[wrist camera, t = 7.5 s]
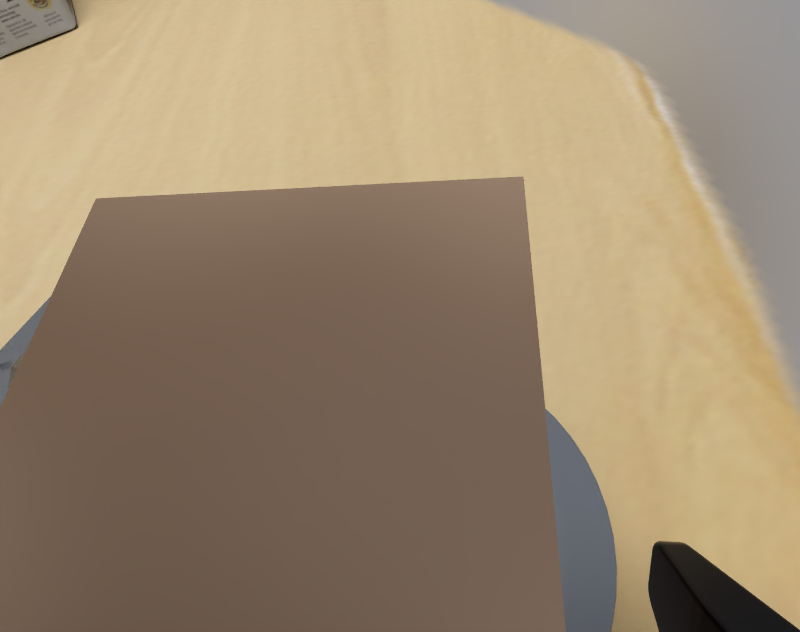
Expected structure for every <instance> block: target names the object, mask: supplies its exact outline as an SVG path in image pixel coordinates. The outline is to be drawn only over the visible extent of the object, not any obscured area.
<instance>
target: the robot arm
mask: <svg viewBox="0 0 800 632" xmlns="http://www.w3.org/2000/svg"><path fill="white" fill-rule="evenodd" d="M648 590H649V597H650V602H651V606H652V609H653V612H654V616H655V619H656V622H657V626H658V629H659V632H800V630H799V629H798V628H796V627H795V626H794V625H792V624H791V623H790V622H788V621H787V620H786V619H785V618H783V617H782V616H781V615H779V614H778V613H777V612H775V611H774V610H773V609H771V608H770V607H769V606H767V605H766V604H765V603H763V602H762V601H761V600H760V599H758V598H757V597H756V596H754V595H753V594H752V593H750V592H749V591H748V590H746V589H745V588H744V587H742V586H741V585H740V584H739V583H737V582H736V581H735V580H733V579H732V578H731V577H729V576H728V575H727V574H725V573H724V572H723V571H721V570H720V569H719V568H717V567H716V566H715V565H714V564H712V563H711V562H710V561H708V560H707V559H706V558H704V557H703V556H702V555H700V554H699V553H698V552H696V551H695V550H694V549H693V548H691V547H690V546H688V545H687V544H685V543H681V542H666V541H658V542H656V543H655V544H654V546H653V550H652V558H651V566H650V574H649V583H648Z"/></svg>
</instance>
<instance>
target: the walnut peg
mask: <svg viewBox="0 0 800 632" xmlns="http://www.w3.org/2000/svg"><path fill="white" fill-rule="evenodd" d="M0 632H566V627H565V616H564V605H563V595H562V584H561V573H560V563H559V552H558V541H557V531H556V520H555V509H554V499H553V488H552V477H551V467H550V456H549V445H548V435H547V424H546V413H545V403H544V392H543V381H542V371H541V360H540V349H539V339H538V328H537V317H536V307H535V296H534V285H533V275H532V264H531V253H530V243H529V232H528V221H527V211H526V200H525V189H524V179H523V177H507V178H487V179H468V180H448V181H429V182H410V183H390V184H371V185H351V186H332V187H313V188H293V189H274V190H254V191H235V192H215V193H196V194H177V195H157V196H138V197H118V198H99V199H96V200H95V202H94V204H93V206H92V209H91V211H90V213H89V215H88V217H87V220H86V222H85V224H84V226H83V228H82V230H81V233H80V235H79V237H78V239H77V241H76V243H75V246H74V248H73V250H72V252H71V254H70V257H69V259H68V261H67V263H66V265H65V267H64V270H63V272H62V274H61V276H60V278H59V281H58V283H57V285H56V287H55V289H54V291H53V294H52V296H51V298H50V300H49V302H48V304H47V307H46V309H45V311H44V313H43V315H42V318H41V320H40V322H39V324H38V326H37V328H36V331H35V333H34V335H33V337H32V339H31V341H30V344H29V346H28V348H27V350H26V352H25V355H24V357H23V359H22V361H21V363H20V365H19V368H18V370H17V372H16V374H15V376H14V379H13V381H12V383H11V385H10V387H9V389H8V392H7V394H6V396H5V398H4V400H3V402H2V405H1V407H0Z"/></svg>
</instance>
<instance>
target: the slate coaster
mask: <svg viewBox="0 0 800 632" xmlns="http://www.w3.org/2000/svg"><path fill="white" fill-rule="evenodd" d="M545 413H546V424H547V435H548V445H549V456H550V467H551V477H552V488H553V499H554V509H555V520H556V531H557V541H558V552H559V563H560V573H561V584H562V595H563V605H564V616H565V627H566V632H611V628H612V622H613V615H614V608H615V601H616V574H617V565H616V556H615V547H614V538H613V533H612V528H611V524H610V520H609V516H608V511H607V508H606V505H605V502H604V499H603V497H602V494H601V491H600V488H599V486H598V483H597V481H596V479H595V477H594V475H593V473H592V471H591V469H590V467H589V465H588V463H587V461H586V459H585V457H584V456H583V454H582V453H581V451H580V450H579V448H578V447H577V445H576V444H575V442H574V441H573V439H572V438H571V436H570V435H569V434H568V433H567V431H566V430H565V429H564V428H563V427H562V426H561V424H560V423H559V422H558V421H557V420H556V418H555V417H554V416H553V415H552V414H550V413H549V412H548V411H547V410H546V409H545Z"/></svg>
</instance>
